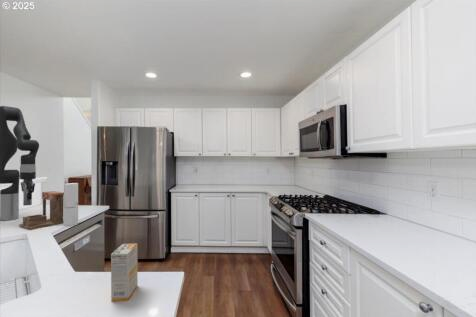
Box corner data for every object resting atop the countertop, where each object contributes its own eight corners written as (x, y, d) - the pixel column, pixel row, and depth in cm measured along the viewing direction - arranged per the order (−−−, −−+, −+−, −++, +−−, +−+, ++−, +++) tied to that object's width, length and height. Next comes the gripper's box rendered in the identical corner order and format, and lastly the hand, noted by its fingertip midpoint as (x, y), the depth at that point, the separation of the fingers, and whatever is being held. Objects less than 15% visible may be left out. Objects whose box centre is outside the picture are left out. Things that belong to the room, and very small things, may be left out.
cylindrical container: (80, 223, 151) (80, 183, 152) (71, 226, 144) (72, 184, 144) (70, 222, 152) (70, 183, 152) (60, 225, 145) (61, 184, 145)
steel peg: (22, 205, 151) (22, 185, 151) (30, 204, 154) (30, 185, 154) (24, 205, 149) (25, 186, 149) (32, 204, 152) (33, 185, 152)
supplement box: (121, 286, 74) (121, 243, 74) (138, 285, 74) (138, 242, 75) (109, 301, 66) (110, 253, 66) (128, 301, 66) (128, 253, 66)
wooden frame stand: (18, 226, 143) (18, 194, 143) (53, 220, 158) (53, 191, 159) (29, 230, 136) (30, 196, 136) (64, 223, 151) (64, 192, 151)
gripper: (15, 171, 152) (15, 198, 152) (25, 172, 145) (25, 200, 145) (30, 170, 158) (30, 197, 158) (40, 171, 151) (40, 199, 151)
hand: (27, 198), depth 151 cm, fingers closed on steel peg, 4 cm apart
